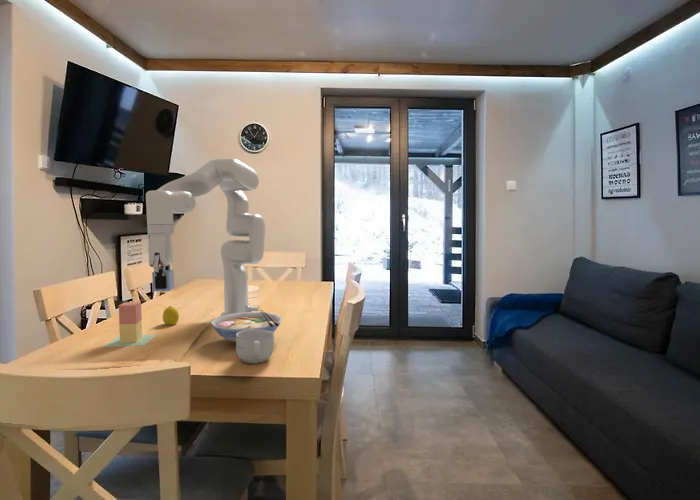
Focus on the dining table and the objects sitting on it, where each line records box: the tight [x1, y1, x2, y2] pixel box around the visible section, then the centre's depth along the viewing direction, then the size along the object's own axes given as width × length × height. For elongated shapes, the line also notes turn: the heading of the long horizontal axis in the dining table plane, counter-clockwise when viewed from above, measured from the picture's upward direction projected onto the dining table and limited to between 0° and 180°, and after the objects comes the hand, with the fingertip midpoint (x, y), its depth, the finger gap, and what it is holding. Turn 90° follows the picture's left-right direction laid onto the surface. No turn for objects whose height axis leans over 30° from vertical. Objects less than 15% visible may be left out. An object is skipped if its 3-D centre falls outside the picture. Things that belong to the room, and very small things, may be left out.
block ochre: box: [118, 320, 143, 343], centre depth 136 cm, size 5×5×6 cm
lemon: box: [162, 305, 180, 326], centre depth 156 cm, size 6×6×8 cm
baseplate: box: [103, 333, 157, 348], centre depth 136 cm, size 12×12×1 cm
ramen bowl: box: [210, 308, 282, 343], centre depth 139 cm, size 25×23×8 cm
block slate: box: [151, 269, 175, 292], centre depth 134 cm, size 5×5×6 cm
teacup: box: [235, 330, 275, 364], centre depth 119 cm, size 14×11×8 cm
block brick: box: [118, 301, 143, 325], centre depth 135 cm, size 5×5×6 cm
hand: (163, 286), depth 134 cm, fingers closed on block slate, 4 cm apart
